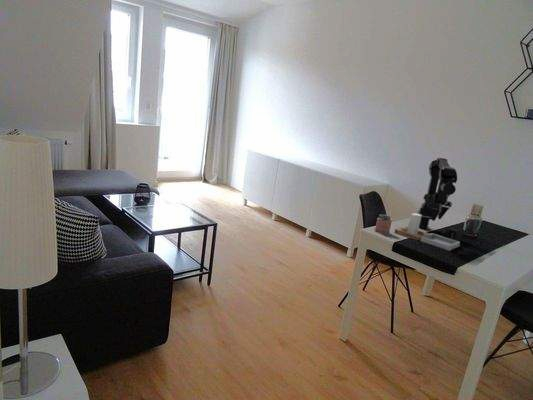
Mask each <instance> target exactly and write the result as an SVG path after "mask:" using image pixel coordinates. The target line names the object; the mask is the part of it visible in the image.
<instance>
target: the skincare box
mask: <svg viewBox="0 0 533 400" xmlns="http://www.w3.org/2000/svg"><path fill="white" fill-rule="evenodd" d="M417 213H418V212H416V213H411V214H410V218H409V221H408V226H407V227H408V229H407V231H406V232H408V233H411V234H414V235H417V236H418V234H417V232H418V230H419V225H420V221H421V217H422V215H421V214H417Z"/></svg>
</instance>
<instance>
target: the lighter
mask: <svg viewBox="0 0 533 400" xmlns="http://www.w3.org/2000/svg"><path fill="white" fill-rule="evenodd" d="M392 222H393V220H392V219H391V215H387V214H381V213H380V214H379V215H378V217H377V218H376V223H375V229H374V232H376V233H379V234H385V235H386V234H390V230H391V225H392Z"/></svg>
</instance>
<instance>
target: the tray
mask: <svg viewBox="0 0 533 400" xmlns="http://www.w3.org/2000/svg"><path fill="white" fill-rule="evenodd" d="M420 243H423V244H426V245H429V246H432V247H435V248H438V249H441V250H444V251H447V252H450V251H452V250H455V249H457V248H459V247H460V246H461V244H460V243H461V241H455V240H452V239H449V238H447V236H446V237H445V236H442V235H439V234H436V233H432V232H431V233H429V234H428V235H425V236H423V237H421V240H420Z"/></svg>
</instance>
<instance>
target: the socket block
mask: <svg viewBox="0 0 533 400" xmlns="http://www.w3.org/2000/svg"><path fill="white" fill-rule="evenodd" d="M407 229H408V226H402V227H398V228H396V229H395V228H394V234H398V235H400V236H404V237H405V238H409V239H413V240H414V241H419V240H421V237H423V236H425V235H428V234H430V233H429V232H425V231H422V230H419V229H418V232H417V235H414V234H411V233H408V232H407ZM418 234H419V235H418Z"/></svg>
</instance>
